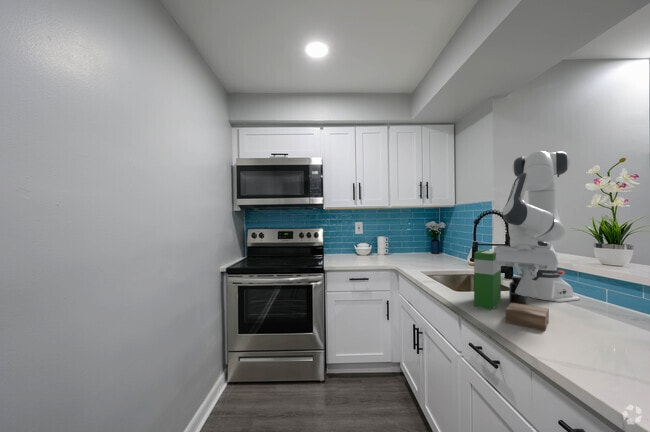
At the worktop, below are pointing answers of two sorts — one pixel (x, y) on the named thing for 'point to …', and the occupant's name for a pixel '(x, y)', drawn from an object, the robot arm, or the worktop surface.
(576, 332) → the worktop surface
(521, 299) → the supplement bottle
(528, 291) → the flask
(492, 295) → the hardback book
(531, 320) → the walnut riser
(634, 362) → the worktop surface
